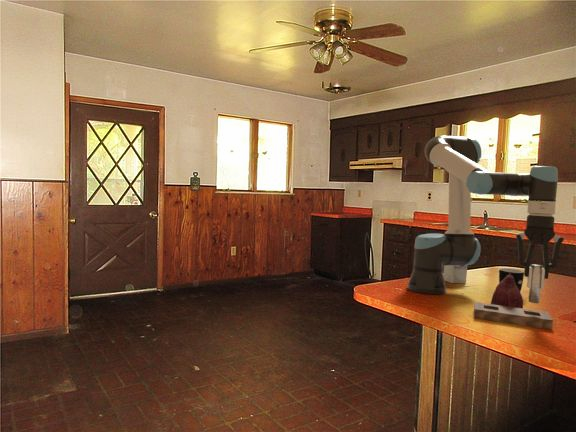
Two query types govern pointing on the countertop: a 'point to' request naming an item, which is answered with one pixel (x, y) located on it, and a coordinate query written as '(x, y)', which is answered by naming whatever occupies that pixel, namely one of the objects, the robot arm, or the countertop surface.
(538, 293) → the pin
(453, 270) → the supplement box
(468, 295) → the countertop surface
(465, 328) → the countertop surface
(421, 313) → the countertop surface
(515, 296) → the vegetable
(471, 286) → the countertop surface
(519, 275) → the mug
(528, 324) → the board
